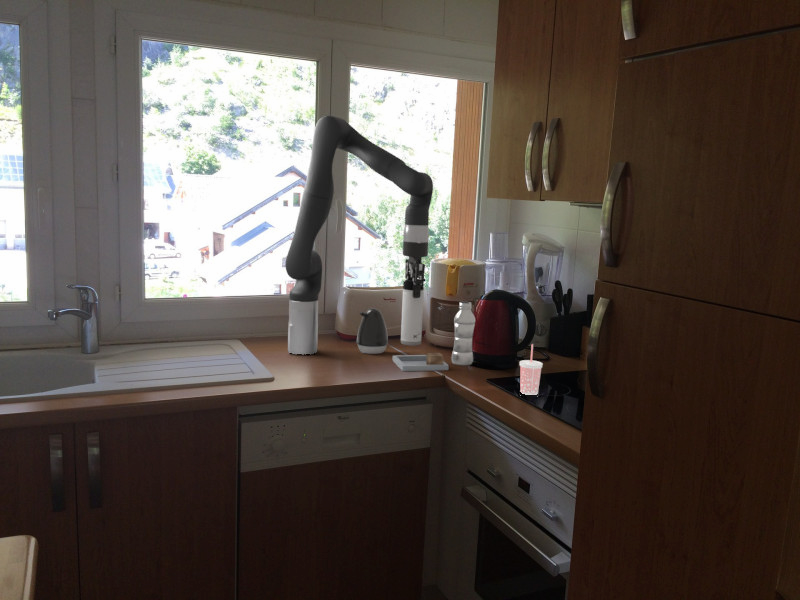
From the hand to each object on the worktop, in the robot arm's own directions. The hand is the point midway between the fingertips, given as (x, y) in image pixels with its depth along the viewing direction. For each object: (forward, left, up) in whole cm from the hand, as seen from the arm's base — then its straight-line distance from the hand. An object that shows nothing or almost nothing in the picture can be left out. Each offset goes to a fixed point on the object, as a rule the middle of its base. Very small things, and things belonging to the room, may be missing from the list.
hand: (413, 295), depth 202 cm
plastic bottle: (+16, -1, -22) cm, 28 cm away
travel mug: (0, 0, -15) cm, 15 cm away
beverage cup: (+24, -33, -22) cm, 46 cm away
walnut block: (+6, -5, -21) cm, 22 cm away
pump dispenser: (-9, +17, -22) cm, 29 cm away
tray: (+2, -2, -22) cm, 22 cm away
